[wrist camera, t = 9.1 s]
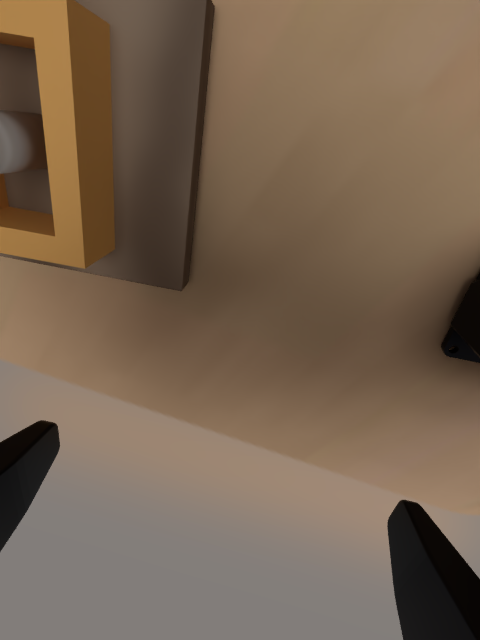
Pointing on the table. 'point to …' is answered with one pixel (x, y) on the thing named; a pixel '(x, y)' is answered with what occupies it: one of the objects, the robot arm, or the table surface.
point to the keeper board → (127, 134)
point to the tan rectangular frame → (66, 133)
